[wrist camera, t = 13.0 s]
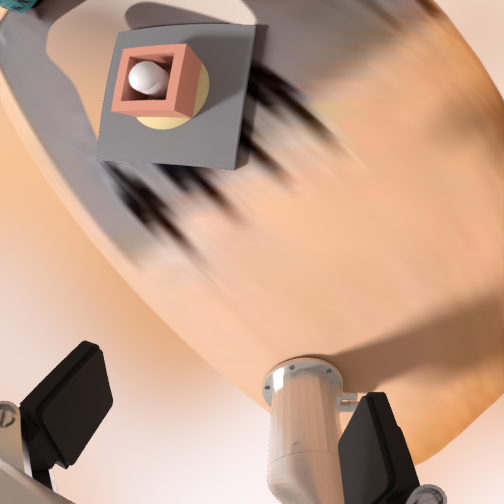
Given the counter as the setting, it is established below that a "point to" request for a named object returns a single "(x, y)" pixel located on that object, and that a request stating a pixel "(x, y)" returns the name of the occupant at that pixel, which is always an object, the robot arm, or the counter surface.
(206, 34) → the post board
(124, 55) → the collar
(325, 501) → the robot arm
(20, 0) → the beverage bottle
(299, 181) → the counter surface
